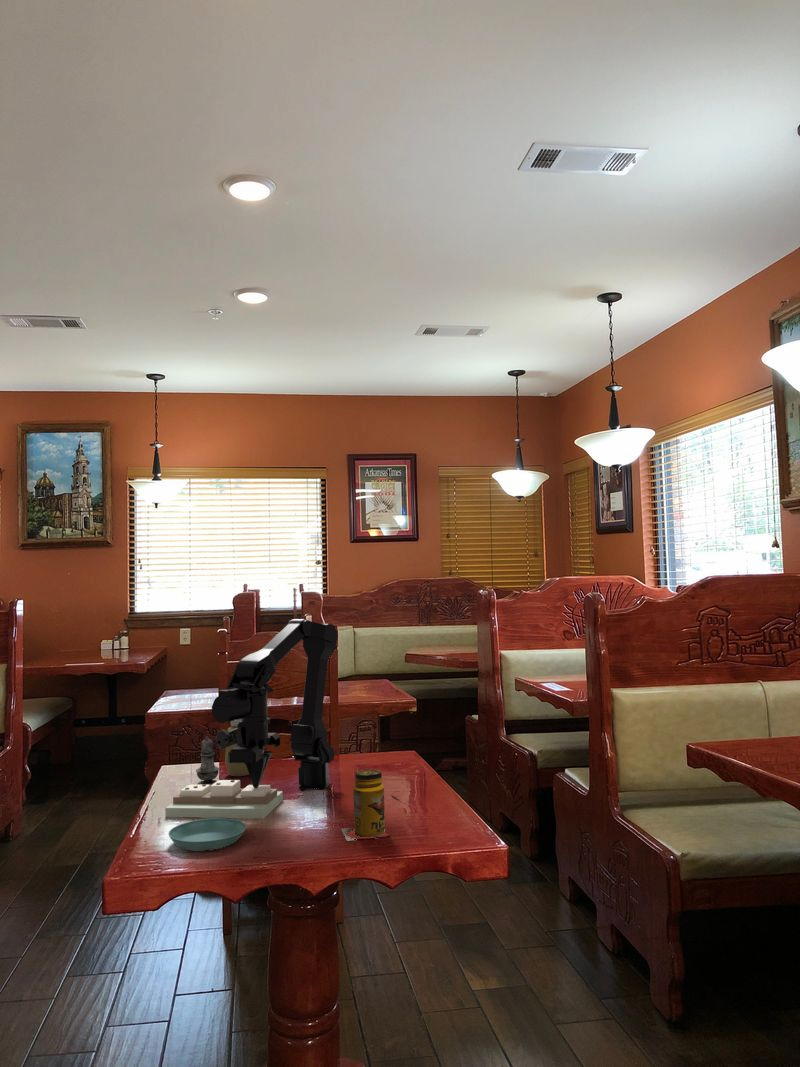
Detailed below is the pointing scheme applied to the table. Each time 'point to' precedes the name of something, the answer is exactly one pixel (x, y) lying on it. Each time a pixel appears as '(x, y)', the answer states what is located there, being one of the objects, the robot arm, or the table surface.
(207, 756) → the grey tall tapered piece
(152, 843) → the table surface
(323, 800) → the table surface
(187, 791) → the three-pip key
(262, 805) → the board
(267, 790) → the one-pip key
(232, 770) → the squeeze bottle
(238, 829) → the saucer
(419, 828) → the table surface
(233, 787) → the two-pip key
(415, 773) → the table surface
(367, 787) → the condiment
